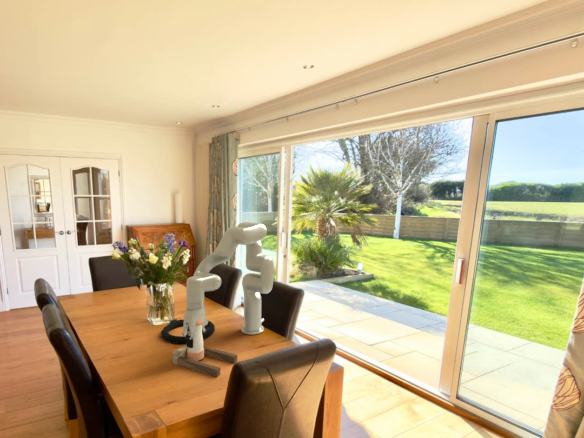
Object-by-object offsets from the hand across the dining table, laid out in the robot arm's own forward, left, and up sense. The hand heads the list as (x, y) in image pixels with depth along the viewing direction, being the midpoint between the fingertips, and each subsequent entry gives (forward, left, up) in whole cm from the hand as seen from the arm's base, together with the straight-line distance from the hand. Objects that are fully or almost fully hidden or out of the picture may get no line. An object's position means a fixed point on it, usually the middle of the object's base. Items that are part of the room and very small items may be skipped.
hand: (195, 343), depth 141 cm
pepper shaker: (0, 0, -6) cm, 6 cm away
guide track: (0, +6, -7) cm, 9 cm away
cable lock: (-21, -24, -8) cm, 33 cm away
